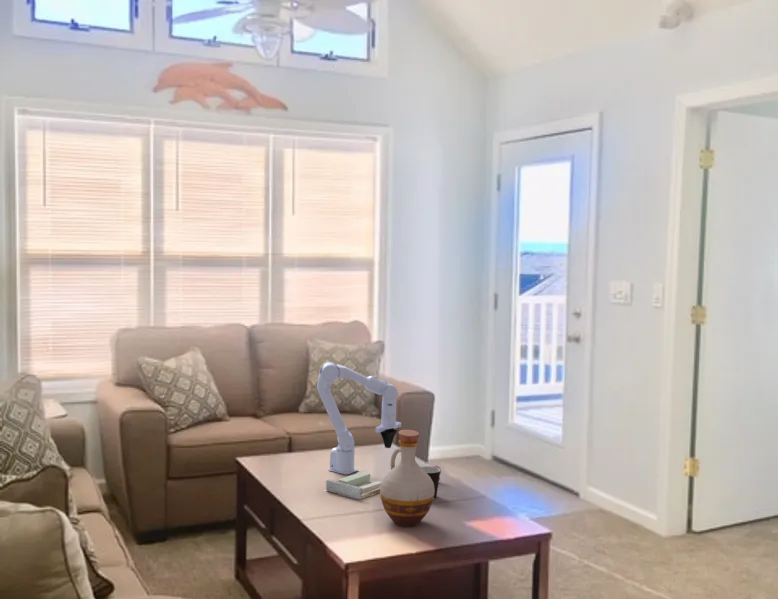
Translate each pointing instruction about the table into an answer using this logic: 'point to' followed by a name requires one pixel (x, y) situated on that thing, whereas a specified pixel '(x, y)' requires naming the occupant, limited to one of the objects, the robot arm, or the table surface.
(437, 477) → the coffee mug
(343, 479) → the sage bar
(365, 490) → the white bar
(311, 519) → the table surface
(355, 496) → the organizer
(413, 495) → the jug
